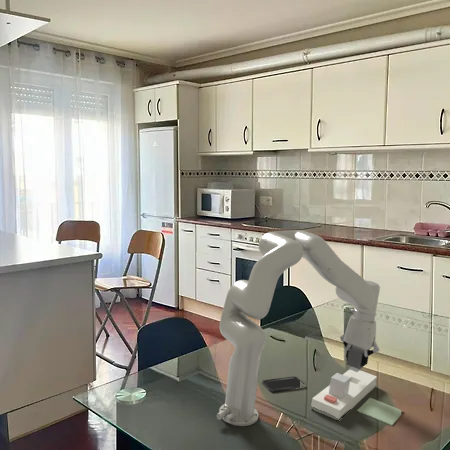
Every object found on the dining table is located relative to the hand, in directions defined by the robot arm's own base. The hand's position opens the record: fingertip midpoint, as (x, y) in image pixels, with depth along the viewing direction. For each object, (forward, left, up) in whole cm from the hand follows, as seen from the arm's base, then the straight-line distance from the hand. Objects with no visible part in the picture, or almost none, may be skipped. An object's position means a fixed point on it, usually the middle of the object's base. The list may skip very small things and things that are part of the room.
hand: (356, 362), depth 183 cm
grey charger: (-14, 0, -9) cm, 16 cm away
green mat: (-7, -13, -11) cm, 19 cm away
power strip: (-7, 0, -11) cm, 13 cm away
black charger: (0, 0, -3) cm, 3 cm away
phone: (-16, +20, -12) cm, 28 cm away
